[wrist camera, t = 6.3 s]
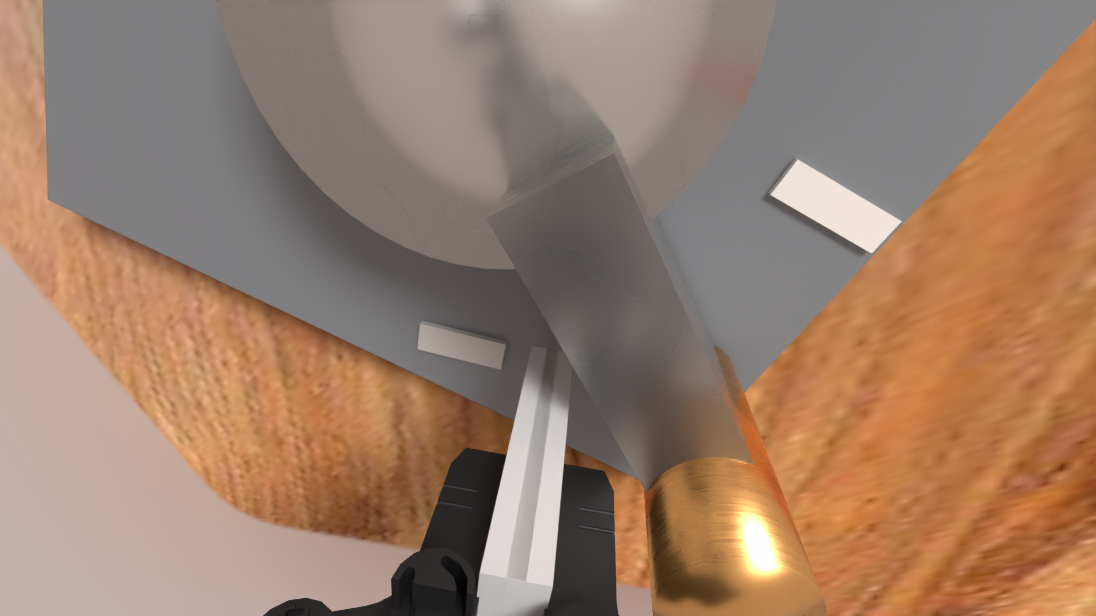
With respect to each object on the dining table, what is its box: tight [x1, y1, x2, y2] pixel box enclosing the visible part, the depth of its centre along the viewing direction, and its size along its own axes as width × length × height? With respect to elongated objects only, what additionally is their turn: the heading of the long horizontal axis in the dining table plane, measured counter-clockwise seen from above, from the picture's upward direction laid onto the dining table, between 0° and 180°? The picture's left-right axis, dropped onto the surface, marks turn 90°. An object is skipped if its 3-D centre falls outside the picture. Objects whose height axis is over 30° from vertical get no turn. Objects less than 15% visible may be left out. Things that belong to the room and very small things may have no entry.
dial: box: [216, 0, 827, 616], centre depth 9 cm, size 18×10×7 cm, turn 28°
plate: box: [43, 0, 1096, 480], centre depth 12 cm, size 22×22×2 cm
